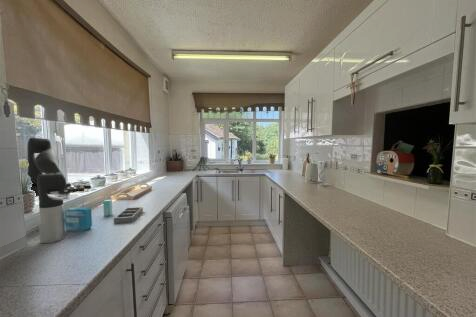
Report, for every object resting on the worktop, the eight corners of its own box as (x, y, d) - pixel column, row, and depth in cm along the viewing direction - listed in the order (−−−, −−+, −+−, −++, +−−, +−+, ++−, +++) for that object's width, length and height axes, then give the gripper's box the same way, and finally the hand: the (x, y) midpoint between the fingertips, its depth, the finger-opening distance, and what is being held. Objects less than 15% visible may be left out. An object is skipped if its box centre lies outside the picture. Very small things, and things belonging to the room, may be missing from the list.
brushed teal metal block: (110, 215, 149) (109, 200, 149) (103, 215, 149) (103, 201, 148) (112, 214, 153) (111, 199, 152) (106, 214, 152) (105, 199, 151)
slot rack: (132, 222, 136) (132, 216, 135) (113, 223, 134) (113, 217, 134) (142, 211, 157) (142, 206, 157) (127, 212, 156) (126, 207, 156)
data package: (65, 230, 123) (64, 209, 122) (71, 227, 128) (70, 207, 127) (86, 230, 123) (85, 209, 122) (92, 227, 127) (91, 207, 127)
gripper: (53, 185, 139) (81, 184, 141) (67, 181, 153) (92, 180, 155) (53, 197, 139) (81, 196, 141) (67, 192, 153) (93, 191, 155)
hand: (87, 188), depth 148 cm, fingers open, 8 cm apart
